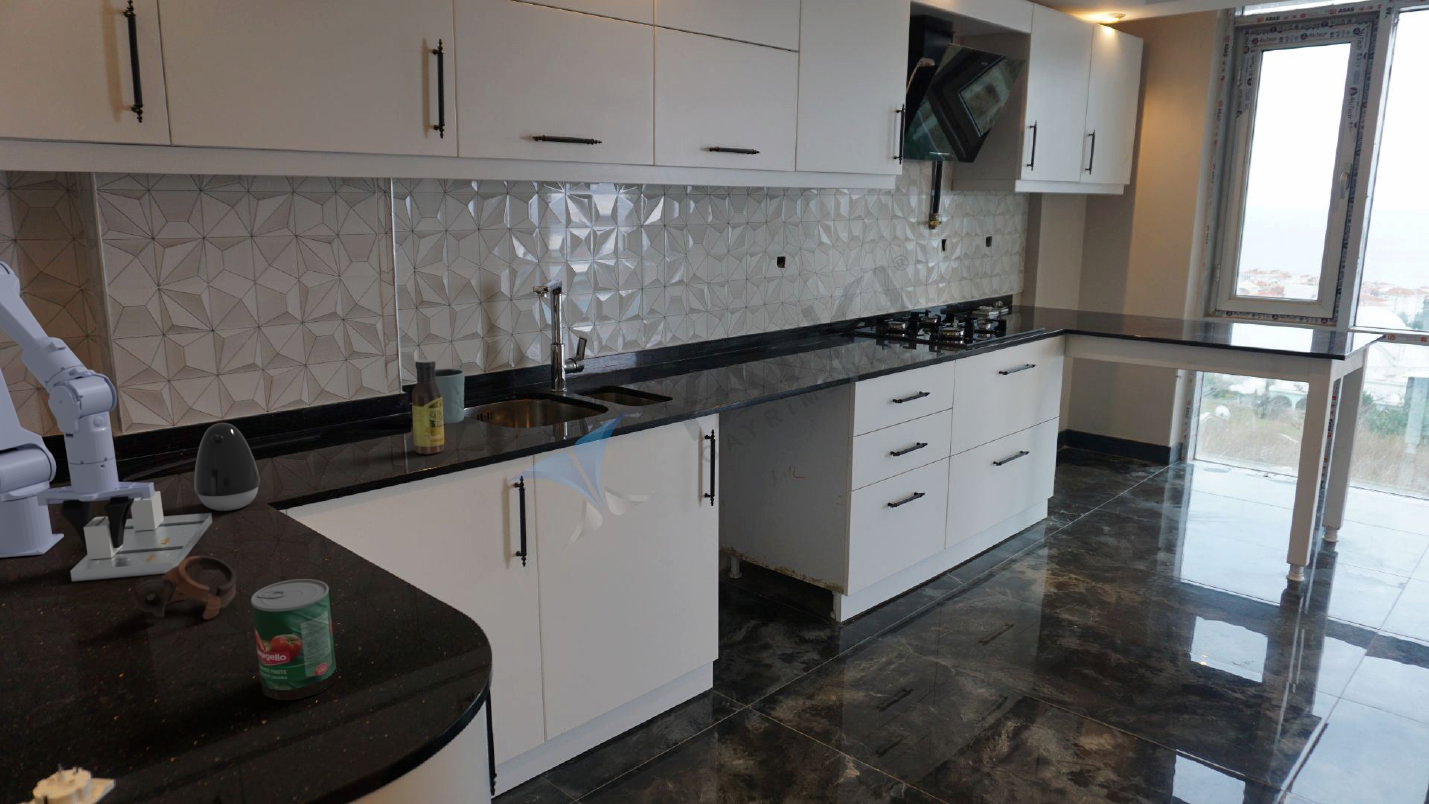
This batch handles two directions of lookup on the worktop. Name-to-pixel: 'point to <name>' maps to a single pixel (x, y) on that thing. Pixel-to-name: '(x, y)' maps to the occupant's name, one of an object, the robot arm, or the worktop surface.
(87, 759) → the worktop surface
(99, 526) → the cap
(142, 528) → the far fader cap
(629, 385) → the worktop surface
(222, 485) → the black egg shape
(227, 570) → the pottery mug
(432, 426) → the sauce bottle
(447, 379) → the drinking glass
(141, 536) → the board
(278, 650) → the canned tomato
